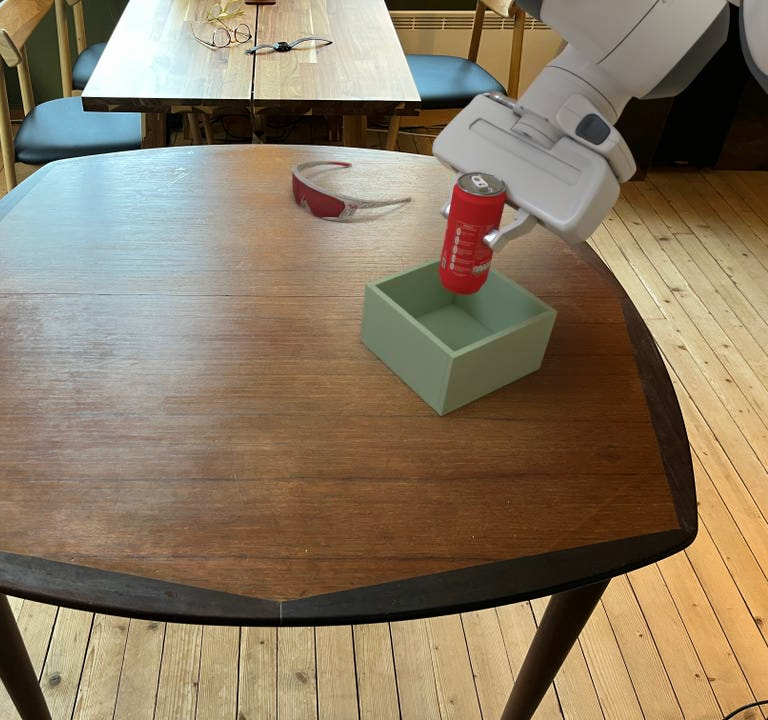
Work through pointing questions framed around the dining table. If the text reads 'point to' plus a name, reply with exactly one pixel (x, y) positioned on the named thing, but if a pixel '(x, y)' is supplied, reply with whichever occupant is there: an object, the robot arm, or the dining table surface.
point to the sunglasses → (330, 195)
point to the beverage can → (470, 232)
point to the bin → (454, 333)
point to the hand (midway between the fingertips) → (467, 233)
